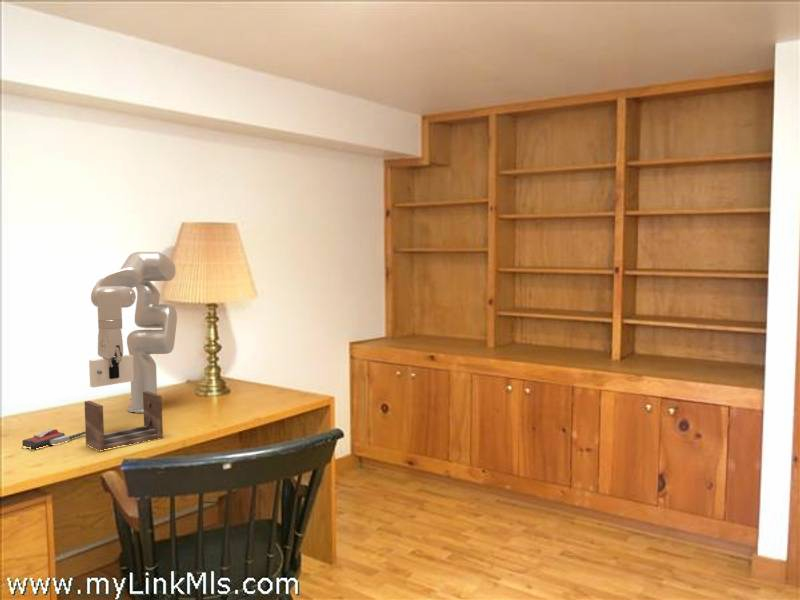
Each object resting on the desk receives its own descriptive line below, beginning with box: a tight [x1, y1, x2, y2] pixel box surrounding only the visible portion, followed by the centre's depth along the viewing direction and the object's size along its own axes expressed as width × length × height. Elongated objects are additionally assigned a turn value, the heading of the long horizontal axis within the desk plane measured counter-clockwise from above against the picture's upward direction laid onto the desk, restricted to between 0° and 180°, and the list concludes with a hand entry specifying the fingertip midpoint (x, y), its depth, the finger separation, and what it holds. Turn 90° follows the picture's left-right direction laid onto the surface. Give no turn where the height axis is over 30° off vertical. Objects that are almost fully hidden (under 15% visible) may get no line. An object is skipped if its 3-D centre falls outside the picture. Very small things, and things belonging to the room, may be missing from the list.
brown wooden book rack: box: [84, 391, 164, 451], centre depth 219 cm, size 21×10×14 cm, turn 137°
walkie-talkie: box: [21, 428, 86, 449], centre depth 219 cm, size 9×4×20 cm
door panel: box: [88, 354, 134, 388], centre depth 228 cm, size 14×4×9 cm, turn 137°
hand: (112, 377), depth 229 cm, fingers closed on door panel, 2 cm apart
